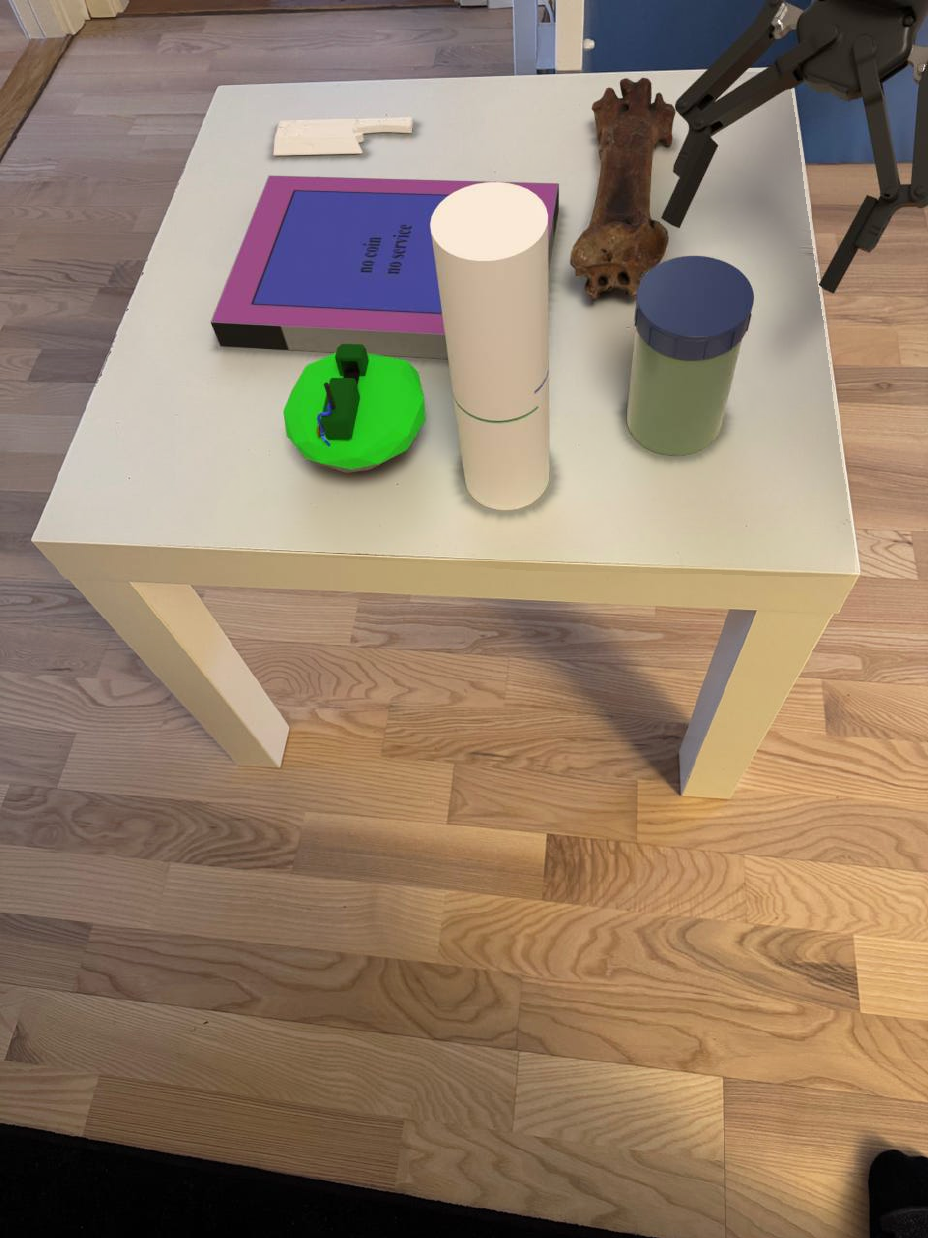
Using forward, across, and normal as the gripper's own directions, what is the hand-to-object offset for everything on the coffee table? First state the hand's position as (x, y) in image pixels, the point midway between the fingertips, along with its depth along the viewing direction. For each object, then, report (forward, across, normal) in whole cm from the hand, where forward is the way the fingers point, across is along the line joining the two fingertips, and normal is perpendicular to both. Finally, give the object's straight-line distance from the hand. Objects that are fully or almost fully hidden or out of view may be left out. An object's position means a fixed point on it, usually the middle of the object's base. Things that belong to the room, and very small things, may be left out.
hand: (745, 255), depth 71 cm
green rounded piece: (+26, +20, +9) cm, 34 cm away
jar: (+14, 0, -3) cm, 14 cm away
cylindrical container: (+23, +8, +6) cm, 25 cm away
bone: (0, +19, -17) cm, 26 cm away
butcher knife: (+4, +51, -12) cm, 53 cm away
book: (+14, +32, -3) cm, 35 cm away
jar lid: (+4, 0, +6) cm, 8 cm away
